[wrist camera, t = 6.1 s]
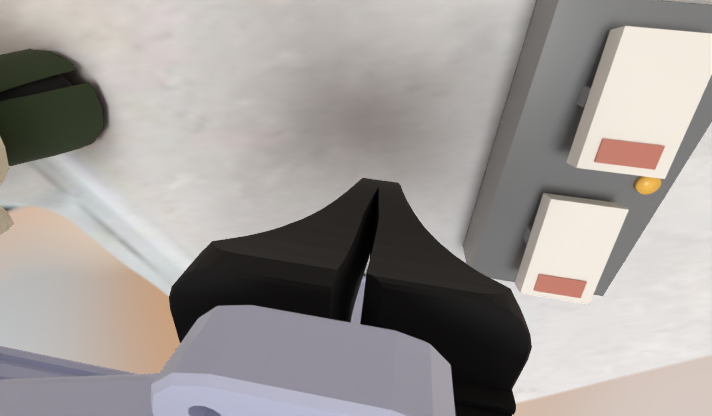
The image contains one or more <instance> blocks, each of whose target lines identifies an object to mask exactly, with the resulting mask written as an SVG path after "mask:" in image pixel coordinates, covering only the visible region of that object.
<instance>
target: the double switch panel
mask: <svg viewBox="0 0 712 416" xmlns="http://www.w3.org/2000/svg"><path fill="white" fill-rule="evenodd" d="M623 26H632V27H643V28H655V29H666V30H677V31H688V32H700V33H711V34H712V5H708V4H696V3H684V2H672V1H660V0H537V2H536V5H535V8H534V12H533V15H532V18H531V22H530V25H529V28H528V32H527V35H526V38H525V42H524V45H523V48H522V52H521V55H520V58H519V62H518V65H517V68H516V72H515V75H514V78H513V82H512V85H511V88H510V92H509V95H508V98H507V102H506V105H505V108H504V112H503V115H502V118H501V122H500V125H499V128H498V132H497V135H496V138H495V142H494V145H493V148H492V152H491V155H490V158H489V162H488V165H487V168H486V172H485V175H484V178H483V182H482V185H481V188H480V192H479V195H478V198H477V202H476V205H475V208H474V212H473V215H472V218H471V222H470V225H469V228H468V232H467V235H466V238H465V242H464V245H463V248H464V253H465V258H466V263H467V265H469V266H470V267H472V268H474V269H475V270H477V271H478V272H480V273H482V274H483V275H485V276H487V277H489V278H493V279H499V280H505V281H512V282H515V281H516V278H517V274H518V271H519V268H520V265H521V262H522V259H523V256H524V252H525V249H526V246H527V243H528V240H529V237H530V233H531V230H532V227H533V224H534V221H535V218H536V215H537V211H538V208H539V205H540V202H541V199H542V196H543V193H548V194H555V195H563V196H570V197H578V198H585V199H592V200H600V201H607V202H615V203H618V204H620V205H622V206H623V207H625V208H627V209H629V211H628V213H627V215H626V218H625V220H624V223H623V225H622V227H621V230H620V232H619V234H618V237H617V239H616V242H615V244H614V246H613V249H612V251H611V253H610V256H609V258H608V261H607V263H606V265H605V268H604V270H603V273H602V275H601V277H600V280H599V282H598V284H597V287H596V289H595V292H594V295H600V296H603V295H604V293H605V292H606V290H607V289H608V287H609V285H610V284H611V282H612V281H613V279H614V277H615V276H616V274H617V273H618V271H619V269H620V268H621V266H622V265H623V263H624V261H625V260H626V258H627V256H628V255H629V253H630V252H631V250H632V248H633V247H634V245H635V244H636V242H637V240H638V239H639V237H640V236H641V234H642V232H643V231H644V229H645V228H646V226H647V224H648V223H649V221H650V220H651V218H652V216H653V215H654V213H655V212H656V210H657V208H658V207H659V205H660V204H661V202H662V200H663V199H664V197H665V196H666V194H667V192H668V191H669V189H670V188H671V186H672V184H673V183H674V181H675V180H676V178H677V176H678V175H679V173H680V172H681V170H682V168H683V167H684V165H685V164H686V162H687V160H688V159H689V157H690V156H691V154H692V152H693V151H694V149H695V148H696V146H697V144H698V143H699V141H700V139H701V138H702V136H703V135H704V133H705V131H706V130H707V128H708V127H709V125H710V123H711V122H712V75H711V77H710V79H709V82H708V84H707V86H706V88H705V91H704V93H703V95H702V97H701V100H700V102H699V104H698V106H697V108H696V111H695V113H694V115H693V117H692V120H691V122H690V124H689V126H688V129H687V131H686V133H685V135H684V138H683V140H682V142H681V144H680V146H679V149H678V151H677V153H676V155H675V158H674V160H673V162H672V164H671V167H670V169H669V171H668V173H667V176H666V178H665V179H661V178H653V177H645V176H637V175H629V174H621V173H613V172H605V171H597V170H590V169H582V168H576V167H574V166H572V165H570V164H568V163H566V162H567V159H568V156H569V153H570V150H571V147H572V144H573V141H574V138H575V135H576V132H577V129H578V126H579V123H580V120H581V117H582V114H583V111H584V108H585V105H586V102H587V99H588V96H589V93H590V90H591V87H592V84H593V81H594V78H595V75H596V72H597V69H598V66H599V63H600V60H601V57H602V54H603V51H604V48H605V45H606V41H607V38H608V35H609V32H610V30H611V29H615V28H619V27H623Z"/></svg>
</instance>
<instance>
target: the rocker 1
mask: <svg viewBox="0 0 712 416" xmlns="http://www.w3.org/2000/svg"><path fill="white" fill-rule="evenodd" d="M628 211H629V209H627V208H625V207H623V206H622V205H620V204H618V203H615V202H607V201H600V200H592V199H585V198H578V197H570V196H563V195H555V194H548V193H543V196H542V199H541V202H540V205H539V208H538V211H537V215H536V218H535V221H534V224H533V227H532V230H531V233H530V237H529V240H528V243H527V246H526V249H525V252H524V256H523V259H522V262H521V265H520V268H519V271H518V274H517V278H516V281H515V285H516V286H517V288H518V290H519V292H520V293H522V294H528V295H534V296H540V297H547V298H553V299H559V300H565V301H571V302H577V303H584V304H589V303H590V301H591V299H592V296H593V294H594V292H595V289H596V287H597V284H598V282H599V280H600V277H601V275H602V273H603V270H604V268H605V265H606V263H607V261H608V258H609V256H610V253H611V251H612V249H613V246H614V244H615V242H616V239H617V237H618V234H619V232H620V230H621V227H622V225H623V223H624V220H625V218H626V215H627V213H628Z"/></svg>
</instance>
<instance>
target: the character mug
mask: <svg viewBox="0 0 712 416" xmlns="http://www.w3.org/2000/svg"><path fill="white" fill-rule="evenodd" d="M73 70H76V68H75V67H74V66H73V65H72V64H71V63H69V62H67V61H66V60H64V59H62V58H61V57H59V56H57V55H55V54H54V53H52V52H47V51H40V50H33V49H28V50H23V51H18V52H13V53H8V54H3V55H0V185H1V184H2V183H3V181H4V179H5V176H6V174H7V172H8V169H9V166H13V165H17V164H21V163H25V162H29V161H34V160H38V159H42V158H46V157H51V156H55V155H58V154H62V153H65V152H69V151H72V150H76V149H79V148H82V147H84V146H87V145H90V144H92V143H94V141H95V140H96V138H97V137H98V135H99V134H100V133H101V131H102V130H103V109H102V106H101V104H100V102H99V100H98V98H97V95H96V93H95V91H94V89H93V87H92V86H91V85H90V84H89V83H83V84H79V85H74V86H71V84H70V83H69V82H68V81H67V80H66V79H65V78H63V77H62V76H61V75H59V74H62V73H65V72H69V71H73ZM13 224H14V222H13V221H12V219H11V217H10V215H9V213H8V212H7V211H5V210H4V209H3V208H2V207H1V206H0V234H2V233H4V232H5V231H7V230H8V229H9V228H10V227H11V226H12V225H13Z"/></svg>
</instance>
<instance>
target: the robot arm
mask: <svg viewBox="0 0 712 416" xmlns="http://www.w3.org/2000/svg"><path fill="white" fill-rule="evenodd" d="M369 255H370V262H369V266H368V269H367V273H366V276H363V275H364V272H365V268H366V265H367V262H368V259H369ZM169 302H170V310H171V313H172V316H173V320H174V324H175V327H176V330H177V334H178V337H179V340H180V345H179V346H178V348H177V349H176V350H175V352H174V353H173V355H172V356H171V357H170V359H169V360H168V362H167V363H166V365H165V366H164V367H163V369H162V370H161V372H160V373H156V374H134V373H130V372H125V371H120V370H115V369H110V368H105V367H100V366H95V365H91V364H85V363H81V362H76V361H71V360H66V359H61V358H56V357H51V356H46V355H41V354H36V353H31V352H26V351H22V350H17V349H12V348H7V347H2V346H0V416H512V414H514V413H515V410H516V404H515V400H514V396H513V392H512V388H513V386H514V384H515V383H516V381H517V379H518V377H519V375H520V373H521V371H522V370H523V368H524V366H525V364H526V362H527V360H528V358H529V354H530V351H531V348H532V346H531V338H530V333H529V330H528V327H527V324H526V321H525V319H524V316H523V314H522V312H521V309H520V307H519V305H518V303H517V301H516V299H515V297H514V295H513V293H512V291H511V289H510V288H508V287H506V286H504V285H502V284H500V283H498V282H497V281H495V280H493V279H491V278H489V277H487V276H485V275H483V274H482V273H480V272H478V271H477V270H475V269H474V268H472V267H470V266H469V265H467V264H466V263H464V262H463V261H461V260H460V259H459V258H457V257H456V256H455V255H453V254H452V253H451V252H450V251H448V250H447V249H446V248H445V247H444V246H442V245H441V244H440V243H439V242H438V241H437V240H436V239H435V238H434V237H433V236H432V235H431V234H430V233H429V232H428V231H427V230H426V229H425V227H424V226H423V225H422V223H421V222H420V221H419V219H418V218H417V216H416V215H415V213H414V212H413V210H412V209H411V207H410V205H409V203H408V202H407V200H406V198H405V196H404V194H403V191H402V189H401V186H400V185H399V183H396V182H388V181H381V180H374V179H366V178H362V179H361V180H360V181H358V182H357V183H356V184H355V185H354V186H353V187H352V188H350V189H349V190H348V191H347V192H346V193H344V194H343V195H342V196H341V197H339V198H338V199H337V200H335V201H334V202H332V203H331V204H329V205H328V206H326V207H325V208H323V209H322V210H320V211H318V212H316V213H314V214H312V215H310V216H308V217H306V218H304V219H301V220H299V221H296V222H294V223H291V224H288V225H286V226H283V227H280V228H277V229H273V230H270V231H266V232H262V233H258V234H254V235H249V236H244V237H238V238H231V239H225V240H218V241H212V242H211V243H210V244H209V245H208V246H207V247H206V248H205V249H204V250H203V251H202V252H201V253H200V254H199V256H198V257H197V258H196V259H195V260H194V261H193V263H192V264H191V265H190V266H189V267H188V268H187V270H186V271H185V272H184V273H183V274H182V275H181V277H180V278H179V279H178V280H177V281H176V282H175V284H174V285H173V286H172V288H171V292H170V296H169Z"/></svg>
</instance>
